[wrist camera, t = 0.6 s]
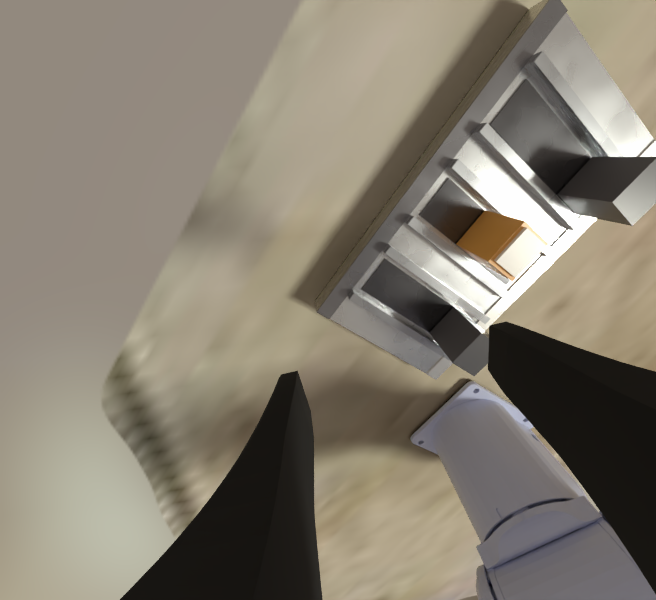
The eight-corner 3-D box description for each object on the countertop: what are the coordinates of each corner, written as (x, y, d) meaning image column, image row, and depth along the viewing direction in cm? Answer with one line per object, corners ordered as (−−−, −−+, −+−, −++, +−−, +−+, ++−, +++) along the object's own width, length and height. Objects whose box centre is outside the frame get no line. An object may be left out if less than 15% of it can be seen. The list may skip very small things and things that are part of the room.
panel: (635, 151, 18) (676, 151, 16) (427, 366, 24) (439, 385, 22) (529, 8, 15) (566, -15, 13) (315, 301, 20) (317, 316, 18)
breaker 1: (473, 320, 20) (503, 348, 17) (448, 345, 21) (474, 376, 18) (453, 306, 20) (481, 333, 17) (429, 333, 20) (452, 362, 18)
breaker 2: (610, 178, 17) (676, 183, 14) (576, 214, 18) (632, 225, 15) (592, 156, 16) (657, 156, 14) (557, 194, 17) (612, 202, 14)
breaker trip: (506, 229, 18) (551, 244, 15) (477, 261, 18) (515, 283, 15) (485, 210, 17) (527, 221, 14) (455, 244, 18) (490, 262, 15)
